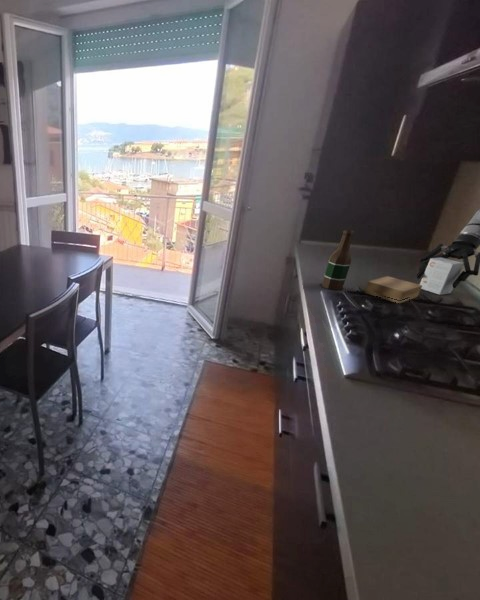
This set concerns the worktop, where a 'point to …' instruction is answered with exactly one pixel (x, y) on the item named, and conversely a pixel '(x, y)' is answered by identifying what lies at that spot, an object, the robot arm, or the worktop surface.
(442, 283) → the small box
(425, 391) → the worktop surface
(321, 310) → the worktop surface
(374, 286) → the birch block
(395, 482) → the worktop surface
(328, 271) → the beer bottle
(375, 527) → the worktop surface
